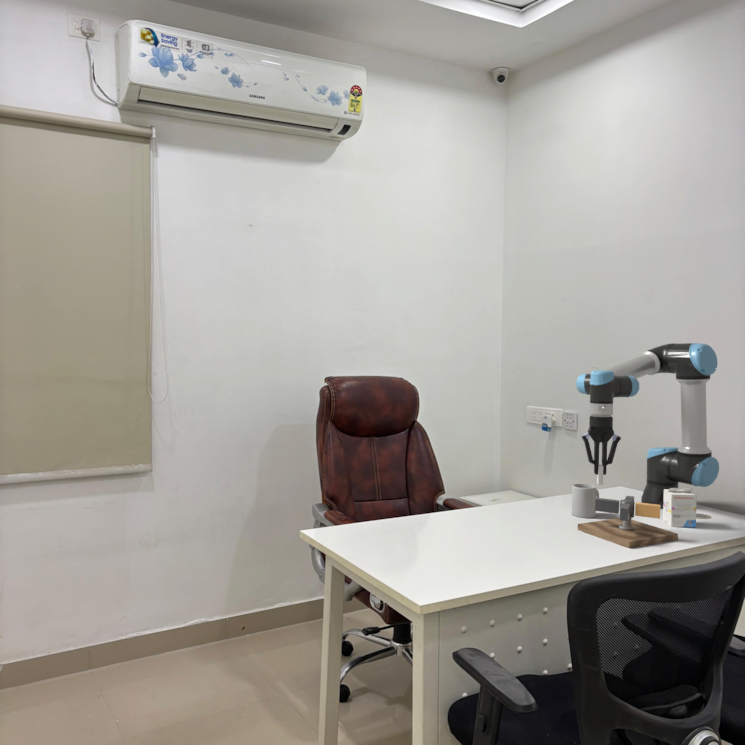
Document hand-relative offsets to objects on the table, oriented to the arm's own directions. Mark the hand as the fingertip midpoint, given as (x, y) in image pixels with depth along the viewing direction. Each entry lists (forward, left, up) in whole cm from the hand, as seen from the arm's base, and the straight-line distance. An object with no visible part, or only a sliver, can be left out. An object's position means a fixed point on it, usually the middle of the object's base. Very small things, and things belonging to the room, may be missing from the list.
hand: (599, 483), depth 218 cm
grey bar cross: (-3, +9, -9) cm, 13 cm away
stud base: (-3, +9, -16) cm, 18 cm away
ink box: (-31, +7, -16) cm, 36 cm away
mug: (-10, -16, -16) cm, 25 cm away
